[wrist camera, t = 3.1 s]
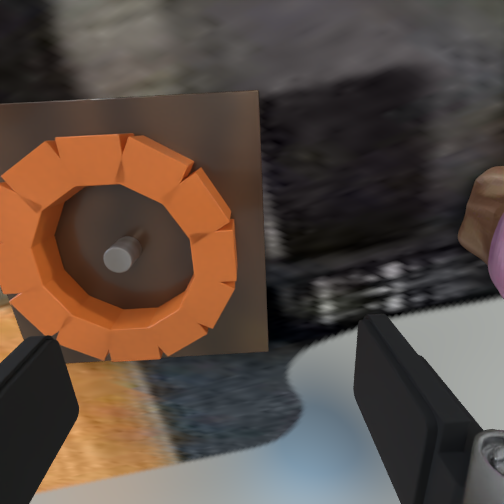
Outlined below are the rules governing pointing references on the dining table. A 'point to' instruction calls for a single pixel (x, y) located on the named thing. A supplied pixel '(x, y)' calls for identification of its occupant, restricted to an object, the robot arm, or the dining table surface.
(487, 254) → the cupcake
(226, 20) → the dining table surface
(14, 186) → the ring
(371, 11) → the dining table surface
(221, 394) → the dining table surface
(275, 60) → the dining table surface
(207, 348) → the board
